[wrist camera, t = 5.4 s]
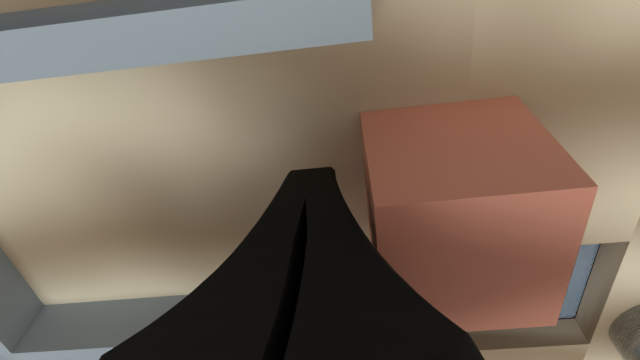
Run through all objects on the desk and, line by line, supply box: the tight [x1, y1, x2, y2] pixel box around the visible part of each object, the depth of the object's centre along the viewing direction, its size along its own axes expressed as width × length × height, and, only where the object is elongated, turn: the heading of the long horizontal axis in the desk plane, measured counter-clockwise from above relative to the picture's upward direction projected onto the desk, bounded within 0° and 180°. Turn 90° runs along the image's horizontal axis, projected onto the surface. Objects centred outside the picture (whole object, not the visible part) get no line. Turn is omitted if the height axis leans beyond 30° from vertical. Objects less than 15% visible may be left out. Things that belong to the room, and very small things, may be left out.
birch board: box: [0, 0, 640, 360], centre depth 14 cm, size 17×26×1 cm, turn 97°
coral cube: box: [360, 95, 598, 332], centre depth 11 cm, size 4×4×4 cm
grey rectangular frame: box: [0, 0, 373, 360], centre depth 12 cm, size 11×14×2 cm
